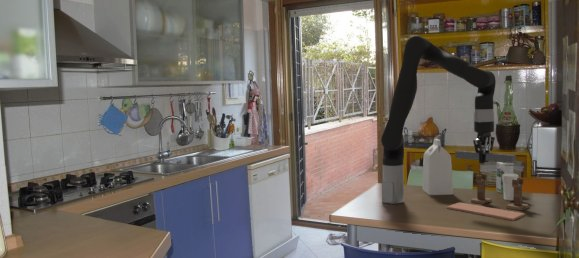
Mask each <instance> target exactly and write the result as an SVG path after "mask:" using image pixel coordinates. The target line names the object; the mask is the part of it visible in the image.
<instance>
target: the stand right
mask: <svg viewBox="0 0 579 258" xmlns="http://www.w3.org/2000/svg"><path fill="white" fill-rule="evenodd" d="M524 182H525V180H524V178H522V177H518V178H517V180H514V179H513V180H512V187H514V200H513V202H511V203H510V204H507V205H506V209H511V210H515V211H520V212H521V211H524V210H526V209H528V208H530V205H529V203H528V204H527V203H523V186H524Z"/></svg>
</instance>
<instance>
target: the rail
mask: <svg viewBox="0 0 579 258" xmlns="http://www.w3.org/2000/svg"><path fill="white" fill-rule="evenodd" d="M454 152H455V153H454V156H455V159H460V160H461V159H463V160H471V161H472V160H473V161H479V154H478V153H476V151H471V150H455V151H454ZM485 161H489V162H493V163H497V162H503V163H514V164H516V163H517V154H511V153H498V152H490V153H487V152H485Z"/></svg>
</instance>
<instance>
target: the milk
mask: <svg viewBox="0 0 579 258" xmlns="http://www.w3.org/2000/svg"><path fill="white" fill-rule="evenodd" d="M432 143H433V144H432V145H431V146H429V147H428V149H426V150H425V152H424V153H423V158H422V159H423V163H422V164H423V165H422V191H423V192H425V194H427V195H428V196H439V195H441V196H444V195H445V196H446V195H454V184H453V183H454V181H453V168H452V167H453V165H452V156H451V154H450V153H449V152H448V151H447V150H446V149H445V148H443V146H442V143H441V139H439V138H433V142H432Z"/></svg>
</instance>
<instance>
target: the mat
mask: <svg viewBox="0 0 579 258" xmlns="http://www.w3.org/2000/svg"><path fill="white" fill-rule="evenodd" d="M446 209H448V210H454V211H459V212H465V213H468V214H469V213H470V214H476V215H481V216H486V217H492V218H497V219H502V220H508V221H512V222H514V221H516V220H518V219H520V218H522V217H524V216H525V213H523V212H520V211H519V212H517V211H512V210H506V209H501V208H495V207H488V206H482V205H478V204H477V205H476V204H470V203H466V202H456V203H452V204H450V205H448V206H446Z"/></svg>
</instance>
